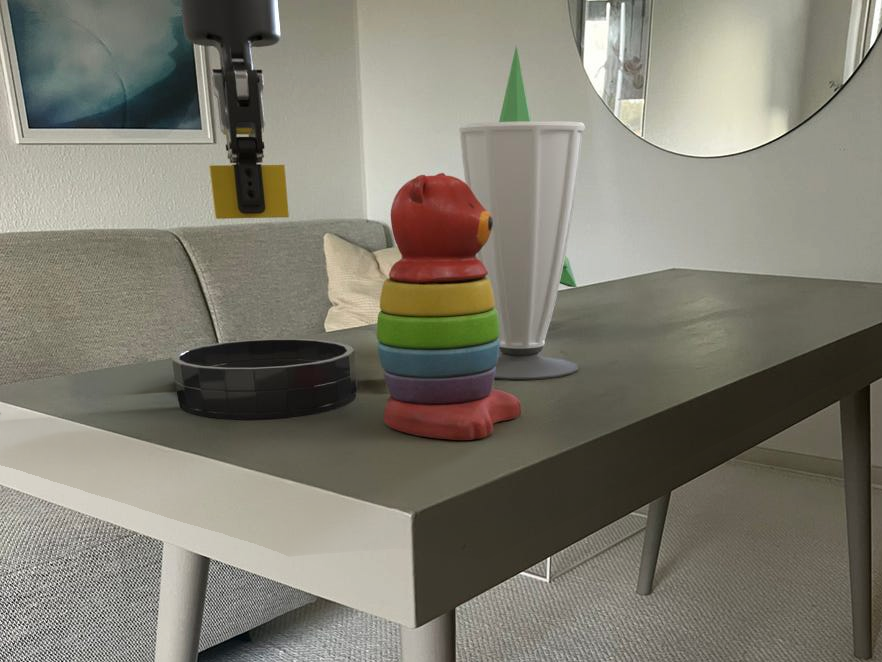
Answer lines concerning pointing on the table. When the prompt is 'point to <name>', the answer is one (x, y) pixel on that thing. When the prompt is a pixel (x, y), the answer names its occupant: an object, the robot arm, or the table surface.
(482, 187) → the cup
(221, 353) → the bowl
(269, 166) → the sponge
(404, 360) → the stacking bear
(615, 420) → the table surface
